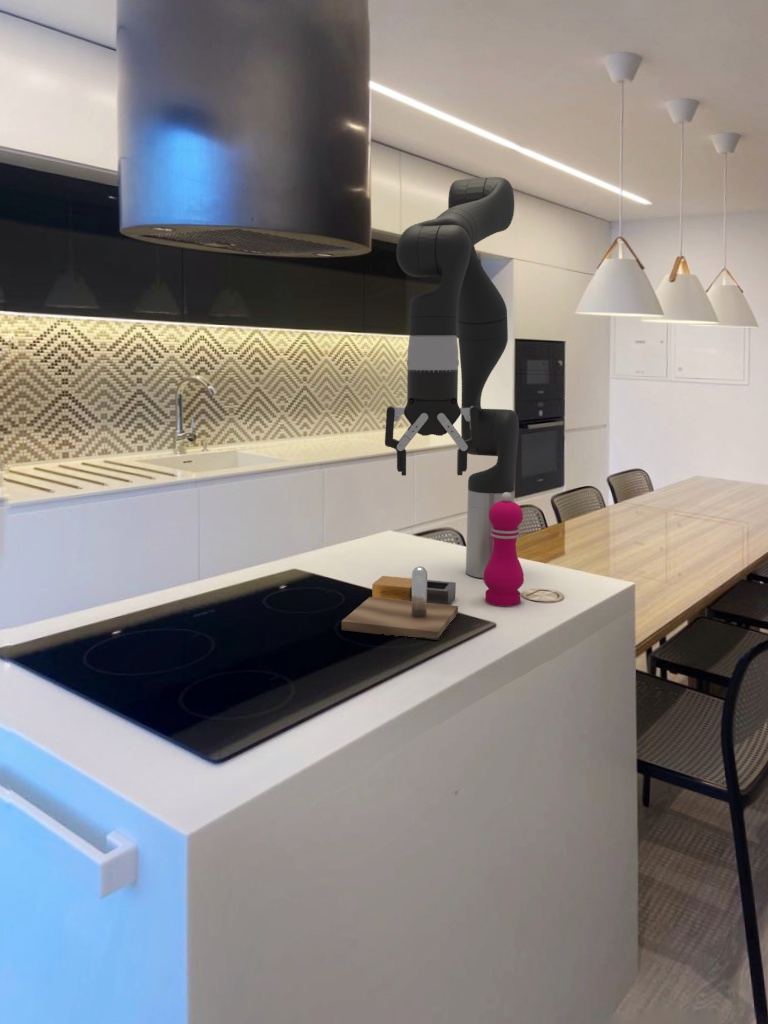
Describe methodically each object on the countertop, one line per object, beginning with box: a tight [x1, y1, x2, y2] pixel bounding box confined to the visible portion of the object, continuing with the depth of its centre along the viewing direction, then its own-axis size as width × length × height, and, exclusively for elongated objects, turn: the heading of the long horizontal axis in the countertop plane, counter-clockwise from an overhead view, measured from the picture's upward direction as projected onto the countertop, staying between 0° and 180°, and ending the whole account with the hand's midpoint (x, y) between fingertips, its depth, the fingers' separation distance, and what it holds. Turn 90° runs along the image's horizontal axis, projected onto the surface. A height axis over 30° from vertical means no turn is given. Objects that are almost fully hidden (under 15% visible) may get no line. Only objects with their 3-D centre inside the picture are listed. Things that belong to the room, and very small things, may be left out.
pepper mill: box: [482, 492, 525, 607], centre depth 146 cm, size 7×7×20 cm
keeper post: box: [411, 566, 428, 618], centre depth 134 cm, size 2×2×8 cm
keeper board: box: [341, 596, 459, 638], centre depth 136 cm, size 14×16×2 cm
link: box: [371, 575, 457, 605], centre depth 149 cm, size 6×14×3 cm, turn 72°
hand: (431, 474), depth 125 cm, fingers open, 8 cm apart
